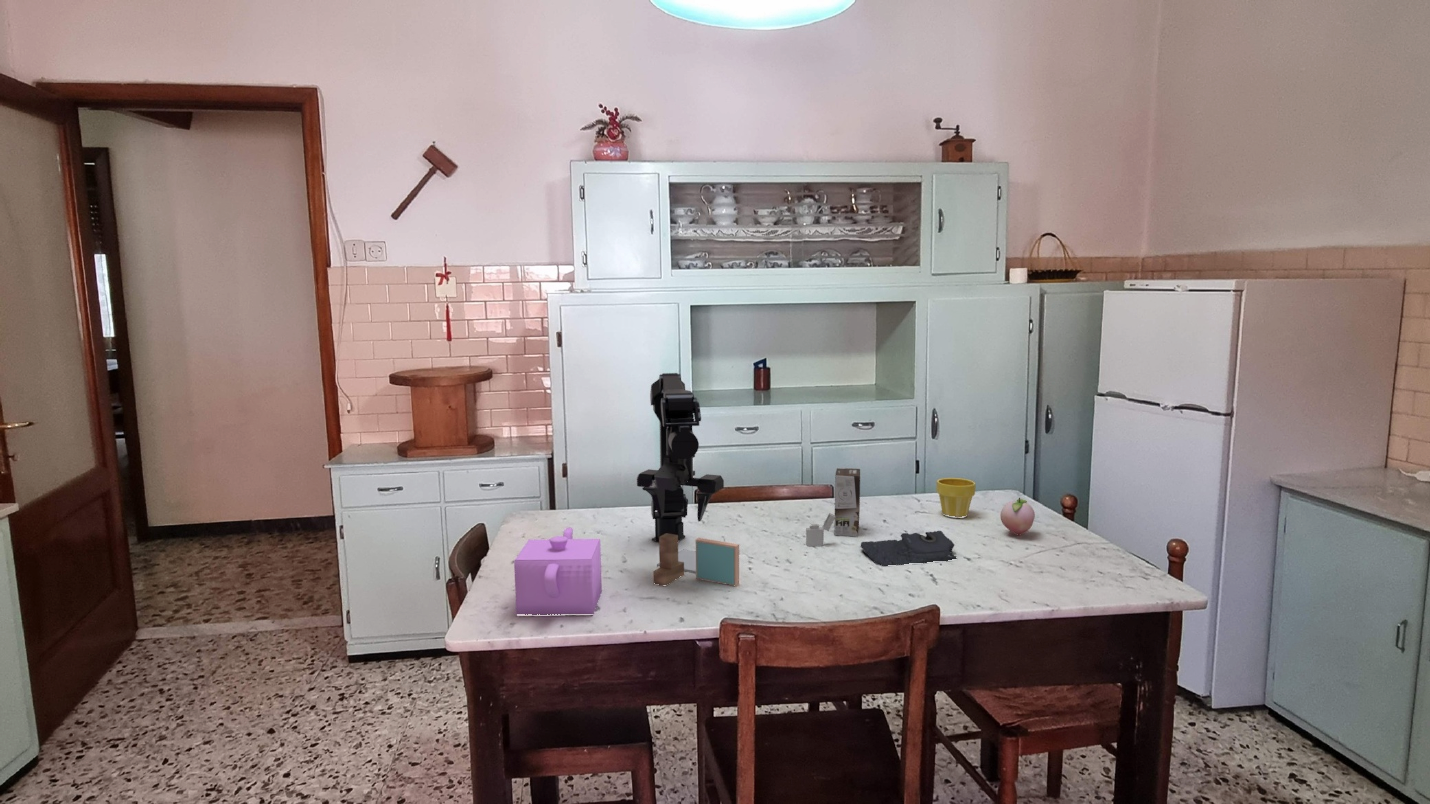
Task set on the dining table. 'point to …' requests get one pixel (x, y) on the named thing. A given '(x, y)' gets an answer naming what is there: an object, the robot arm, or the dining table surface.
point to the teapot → (558, 576)
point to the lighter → (818, 532)
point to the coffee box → (847, 502)
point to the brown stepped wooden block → (668, 560)
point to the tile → (717, 561)
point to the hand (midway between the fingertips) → (680, 519)
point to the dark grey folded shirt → (910, 549)
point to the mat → (687, 560)
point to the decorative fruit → (1017, 516)
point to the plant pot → (955, 495)
